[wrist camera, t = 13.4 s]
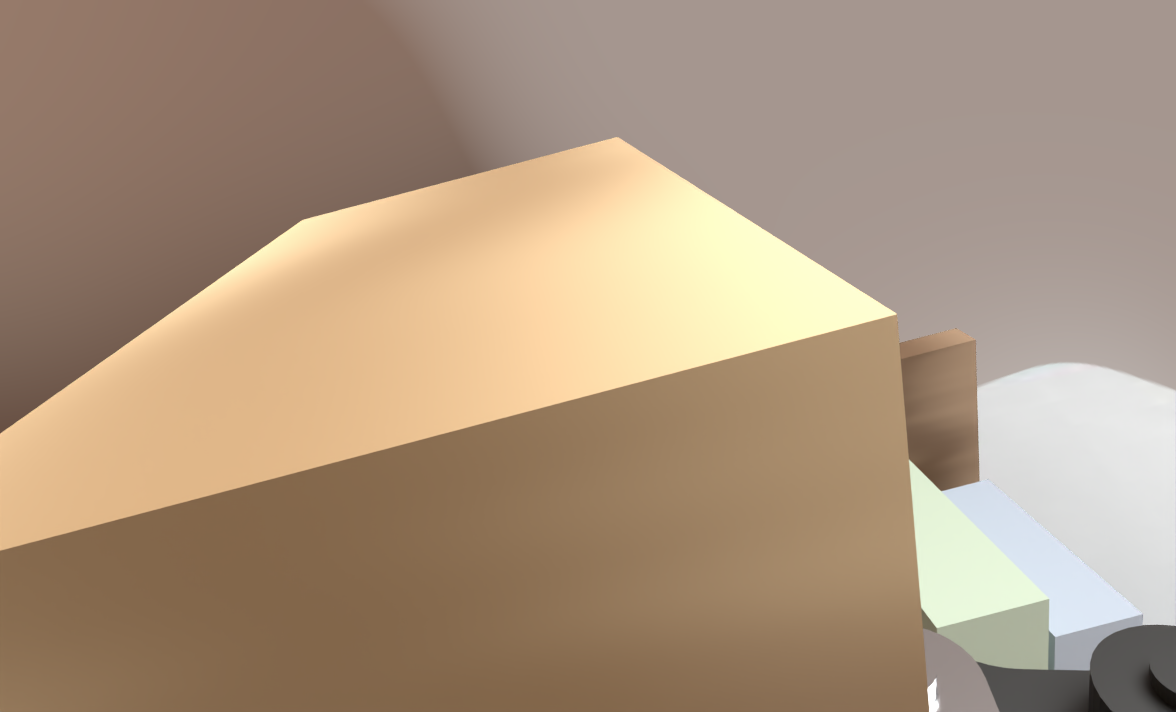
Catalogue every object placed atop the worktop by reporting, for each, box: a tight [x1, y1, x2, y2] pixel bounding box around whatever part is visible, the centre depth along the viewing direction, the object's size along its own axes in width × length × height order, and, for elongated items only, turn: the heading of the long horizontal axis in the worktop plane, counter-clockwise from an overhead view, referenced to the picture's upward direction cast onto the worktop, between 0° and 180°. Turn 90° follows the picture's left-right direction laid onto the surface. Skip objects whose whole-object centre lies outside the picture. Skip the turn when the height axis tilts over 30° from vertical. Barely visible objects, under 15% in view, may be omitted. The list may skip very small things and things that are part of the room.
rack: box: [899, 328, 979, 491], centre depth 23 cm, size 19×12×11 cm, turn 96°
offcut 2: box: [941, 479, 1143, 670], centre depth 24 cm, size 2×7×5 cm, turn 6°
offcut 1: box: [909, 460, 1049, 670], centre depth 24 cm, size 3×8×7 cm, turn 6°
